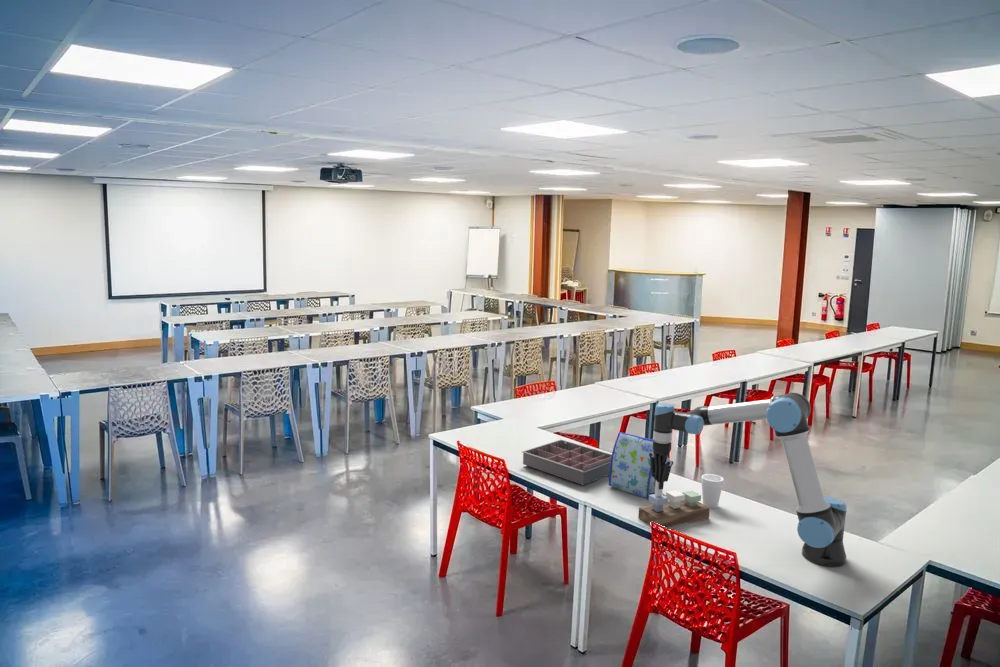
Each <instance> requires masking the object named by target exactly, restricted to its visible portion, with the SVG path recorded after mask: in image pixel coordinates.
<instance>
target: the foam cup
mask: <svg viewBox="0 0 1000 667" xmlns="http://www.w3.org/2000/svg"><path fill="white" fill-rule="evenodd" d="M700 479H701V480H700V481H701V492H702V494H701V498H702V504H704V505H706V506H707V507H709V508H710V509H717V508H718V506H719V502H720V498H721V494H722V489H723V486H724V480H725V479H724V477H723V476H721V475H718V474H714V473H712V474H711V473H705V474H702V475H701V478H700Z"/></svg>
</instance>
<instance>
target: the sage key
mask: <svg viewBox="0 0 1000 667" xmlns="http://www.w3.org/2000/svg"><path fill="white" fill-rule="evenodd" d="M681 493H682V494H684V495H685V500H686V504H687V505H688V506H690V507H692V506H696V502H697V501H698V502H701V501H702V494H699V493H698V492H696V491H694V490H688V491H682V492H681Z"/></svg>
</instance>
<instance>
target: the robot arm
mask: <svg viewBox="0 0 1000 667" xmlns="http://www.w3.org/2000/svg"><path fill="white" fill-rule="evenodd" d="M653 414H654V418H653V419H654V421H653V434H652V439H653V440H654V441H653V447H652V448H653V450H654V451H653V453H649V456H650V461H651V473H652V477H654V479H655V496H657V497H658V496H662V495H663V489H664V486H665V485H664V483H665V482H668V481H669V478H670V473H671V470H672V467H673V465H674V461H673V460H671V459H670V452H671V450H672V444H673V443H672V440H673V430H674V431H678V432H683V433H686V434H690V435H700V434H701V433H702V431H703V429H704V427H705V426H713V425H722V424H731V423H732V424H733V423H742V422H743V423H744V422H752V421H764V420H766V422H767V423H768V425H769V426H770V428H772V429H773V431H774V434H775V437H776V438H778V439H779V440H780V441H781V443H782V447H783V450H784V455H785V458H786V461H787V462H786V463H787V466H788V470H789V473H790V475H791V480H792V484H793V487H794V491H795V494H796V498H797V501H798V502H797V503H798V506H797V507H796V508H795V511H796V514H797V519H798V524H797V529H796V530H797V535H798V536H799V539H800V540H801V541H802V542H803V545H802V547H801V555H802V557H804V558H805V559H806V560H807V561H810V562H811V563H814V564H817V565H820V566H824V567H833V568H834V567H835V568H836V567H842V566H845V565H846V563H847V553H846V550H845V546H844V545H845V544H844V535H845V534H844V533H845V527H846V526H845V524H846V514H847V513H848V511H847V504H846V503H845V502H844V501H842V500H839V499H837V498H833V497H829V496H824V495H823V491H822V488H821V483H820V480H819V476H818V472H817V469H816V466H815V463H814V458H813V455H812V451H811V448H810V445H809V444H810V443H809V441H808V436H807V435H808V433H809V432H810V426H809V424H808V418H809V416H810V414H811V403H810V402H809V400H808V398H807V397H806V396H804V395H803V394H800V393H799V392H798V393H797V392H789V393H785V394H780V395H773V396H772V397H771V398H769V399H761V400H760V399H759V400H754V401H752V400H751V401H746V402H745V401H744V402H735V403H728V404H727V403H726V404H721V405H712V406H710V405H709V406H706V405H705V406H704V405H703V406H702V405H701V406H697V407H695V408H694V409H692V410H690V411H688V412H681V411H676V410H675V406H674V404H671V403H667V402H661V403H660V402H659V403H657V404H656V405H655V409H654V413H653ZM654 473H655V474H654Z"/></svg>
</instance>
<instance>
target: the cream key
mask: <svg viewBox="0 0 1000 667" xmlns="http://www.w3.org/2000/svg"><path fill="white" fill-rule="evenodd" d="M665 496H666V497H667V498H668V501H670V505H669V506H670V507H672V508H674V509H676V508H680V501H685V495H684V494H682V492H680V491H679V490H677V489H676V490H675V489H674V490H671V491H670V490H669V491H666V493H665Z"/></svg>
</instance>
